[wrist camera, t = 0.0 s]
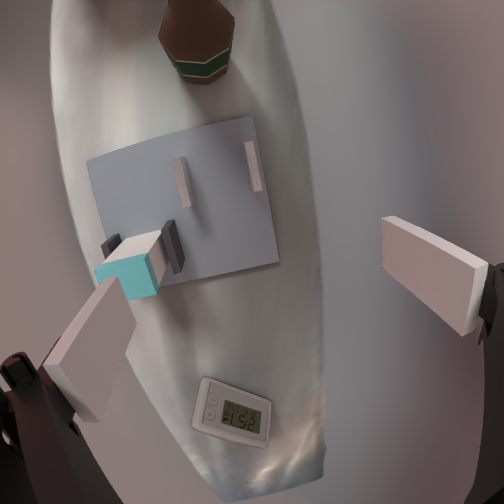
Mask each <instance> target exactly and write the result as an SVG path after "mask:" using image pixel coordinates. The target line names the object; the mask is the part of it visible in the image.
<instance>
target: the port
mask: <svg viewBox="0 0 504 504" xmlns="http://www.w3.org/2000/svg"><path fill="white" fill-rule="evenodd" d="M241 145H242V150H243V155H244V160H245V165H246V170H247V175H248V180H249V185H250V188H251V189H252V190H253V191H254V192H256V191H261V190H262V185H261V180H260V175H259V170H258V165H257V159H256V154H255V149H254V144H253V141H249V142H244V143H242V144H241ZM172 163H173V168H174V172H175V176H176V181H177V185H178V189H179V193H180V197H181V201H182V205H183V208H184V207H189V206H191V205H192V203H193V201H194V194H193V190H192V186H191V181H190V177H189V173H188V168H187V164H186V159H185V156H182V157H177V158H173V159H172Z"/></svg>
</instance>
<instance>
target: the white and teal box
mask: <svg viewBox="0 0 504 504" xmlns="http://www.w3.org/2000/svg"><path fill="white" fill-rule="evenodd" d="M168 262H169V257H168V254H167V250H166V247H165V243H164V240H163V237H162V233H161V230H157V231H153V232H149V233H145V234H141V235H137V236H133V237H130V238H126V239H125V240H124V241H123V242H122V243H121V244H120V245H119V246H118V247H117V248H116V249H115V250H114V251H113V252H112V253H111V254H110V255H109V256H108V257H107V259H106V260H105V261H104V262H103V263H102V264H99V265H98V266H97V268H96V269H95V270H94V273H95V275H96V278H97V281H98V283H99V285H100V284H101V282H102V281H103V280H104V279H105V278H109V277H113V276H118V278H119V280H120V283H121V286H122V288H123V291H124V293H125V296H126V298H127V301H128V300H133V299H138V298H143V297H148V296H153V295H157V293H158V290H159V284H160V282H161V279H162V277H163V274H164V272H165V270H166V267H167V265H168Z"/></svg>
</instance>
